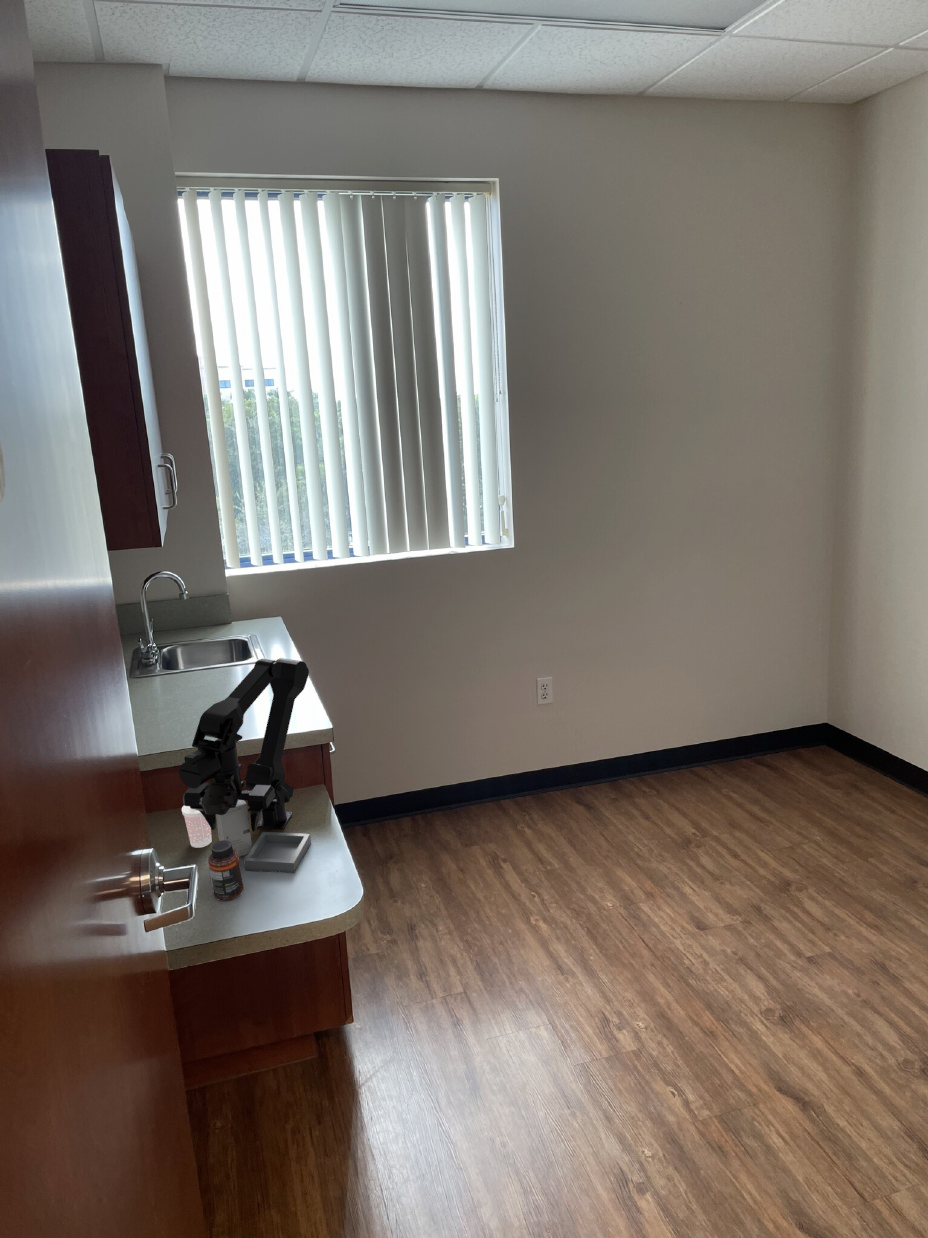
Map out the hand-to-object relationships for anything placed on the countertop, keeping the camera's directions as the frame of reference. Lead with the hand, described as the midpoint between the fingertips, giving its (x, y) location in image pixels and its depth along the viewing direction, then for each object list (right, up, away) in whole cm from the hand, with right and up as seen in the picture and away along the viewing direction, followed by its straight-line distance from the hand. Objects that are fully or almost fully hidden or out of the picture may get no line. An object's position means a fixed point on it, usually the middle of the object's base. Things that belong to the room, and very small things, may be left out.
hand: (234, 830), depth 185 cm
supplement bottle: (+2, -10, -12) cm, 16 cm away
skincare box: (0, -6, +2) cm, 6 cm away
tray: (+10, -6, -1) cm, 12 cm away
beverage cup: (-9, -4, +6) cm, 12 cm away
